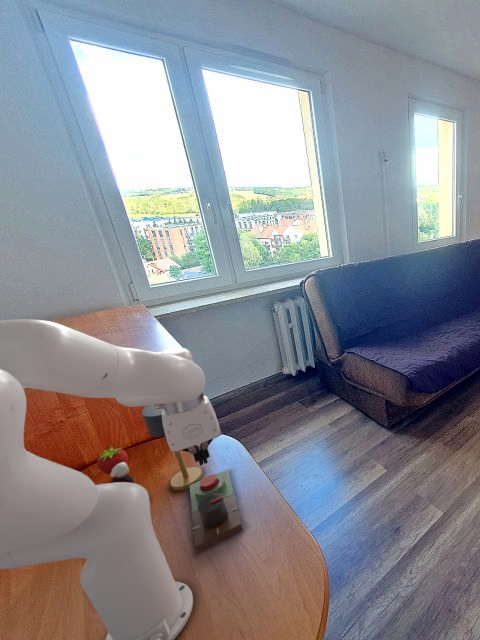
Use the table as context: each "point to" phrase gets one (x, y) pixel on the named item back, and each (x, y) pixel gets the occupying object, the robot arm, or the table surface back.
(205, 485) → the lamp switch
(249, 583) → the table surface
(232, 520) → the dimmer panel
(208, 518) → the dimmer knob
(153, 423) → the desk lamp
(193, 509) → the switch base
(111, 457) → the strawberry
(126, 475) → the grandmother figurine
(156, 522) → the table surface
